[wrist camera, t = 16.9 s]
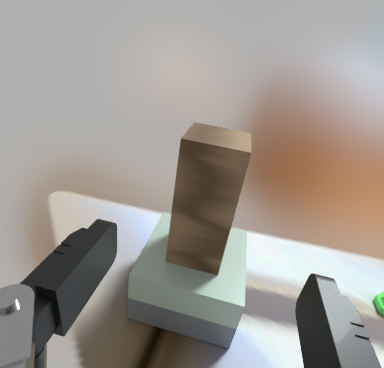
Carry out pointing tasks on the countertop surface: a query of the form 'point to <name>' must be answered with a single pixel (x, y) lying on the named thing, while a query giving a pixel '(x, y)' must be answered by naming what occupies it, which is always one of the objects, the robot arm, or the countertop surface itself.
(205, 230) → the walnut block
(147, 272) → the pale green grey block
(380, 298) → the game piece
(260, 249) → the countertop surface
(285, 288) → the countertop surface
